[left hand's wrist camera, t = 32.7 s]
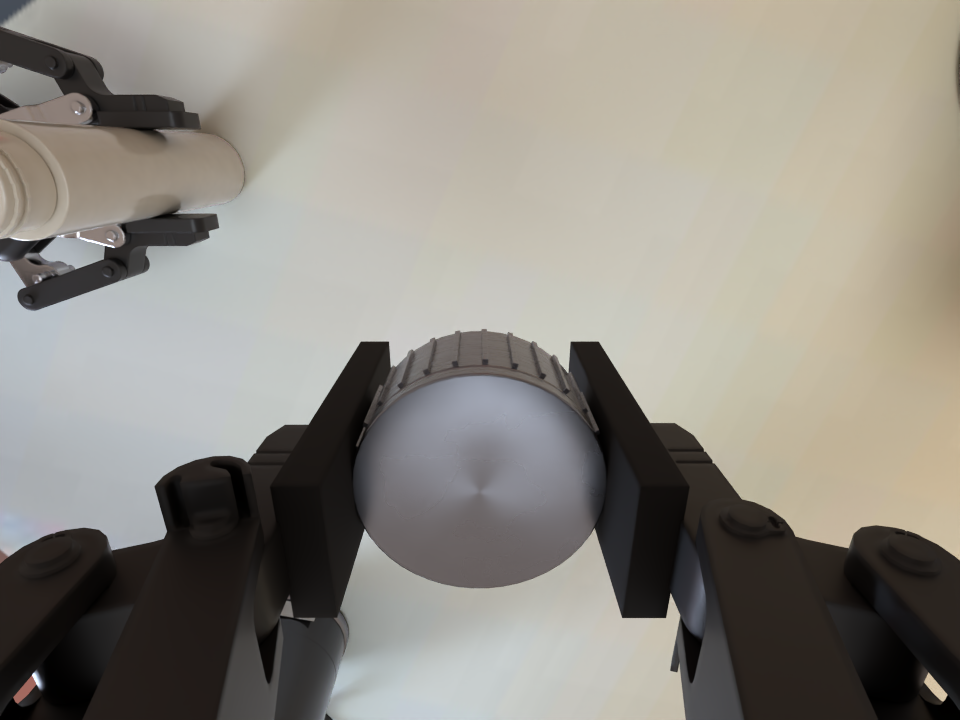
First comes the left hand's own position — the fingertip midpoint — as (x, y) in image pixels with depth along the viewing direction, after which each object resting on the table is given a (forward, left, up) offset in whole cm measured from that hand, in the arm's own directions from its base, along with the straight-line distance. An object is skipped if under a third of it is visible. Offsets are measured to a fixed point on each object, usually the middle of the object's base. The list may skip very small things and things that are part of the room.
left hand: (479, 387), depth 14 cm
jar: (+3, -17, -21) cm, 27 cm away
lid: (0, 0, +4) cm, 4 cm away
